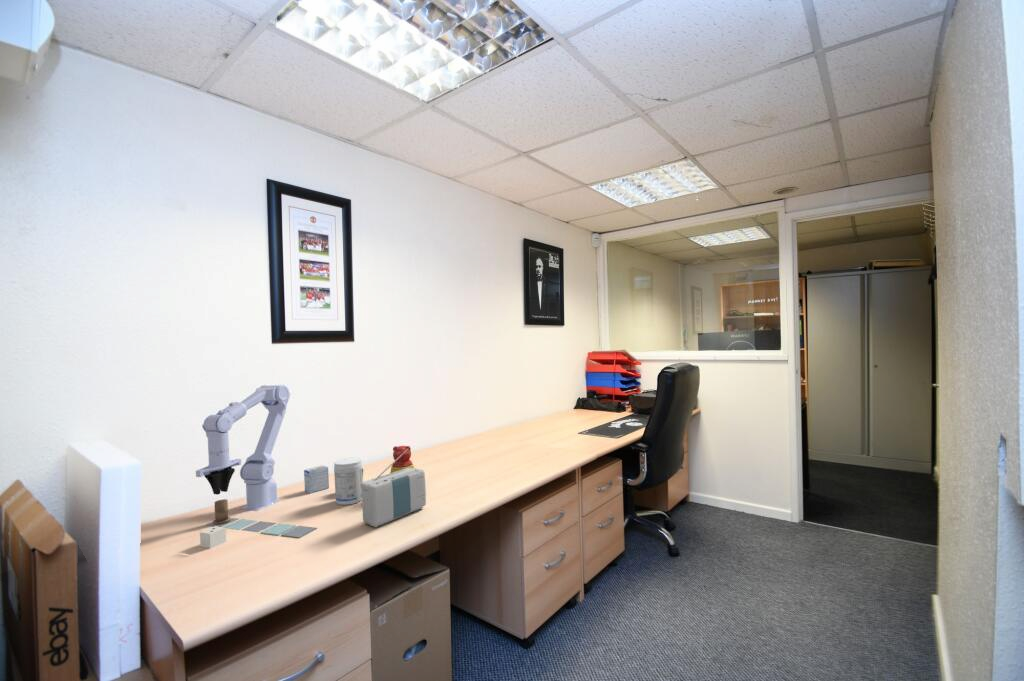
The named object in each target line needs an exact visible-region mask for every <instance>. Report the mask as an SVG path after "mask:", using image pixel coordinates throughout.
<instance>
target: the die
mask: <svg viewBox="0 0 1024 681" xmlns="http://www.w3.org/2000/svg"><path fill="white" fill-rule="evenodd" d="M223 527H224V526H222V527H218V526H214V527H213V526H211V527H209V528H206V529H204V530H202V531H200V532H199V539H200V540H199V541H200V542H199V543H200V547H202V548H206V549H210V550H211V549H213V548H215V547H217V546H220V545H223V544H224V543H226V542H227V534H226V533H227V531H226V529H227V528H223Z"/></svg>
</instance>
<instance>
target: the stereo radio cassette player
mask: <svg viewBox="0 0 1024 681" xmlns="http://www.w3.org/2000/svg"><path fill="white" fill-rule="evenodd" d="M407 450H408V449H407ZM407 450H406V451H407ZM406 451H405V452H406ZM405 452H404V453H405ZM404 453H403V454H404ZM403 454H402V455H403ZM402 455H400V456H399V457H398V458H397V459H396V460H394V461H392V463H390V464H389V465H388V467H386V468H385V469H384V470H382V472H381V473H380V474H378V476H376V477H375V478H371V479H368V480H365V481H363V482H361V489H362V500H361V503H362V504H361V505H362V506H361V507H362V521H363V522H364V523H365V524H366V525H369V526H372V527H374V528H378V527H379V526H382V525H385V524H387V523H389V522H392V521H394V520H396V519H399V518H402V517H404V516H406V515H409V514H411V513H414V512H416V511H418V510H422V509H423V508H424V507H425V506H426V504H427V488H426V487H427V486H426V475H425V471H424V469H419V468H415V467H414V468H406V469H403V470H399V471H396V472H393V473H390V472H389V473H387V474H385V473H386V471H387V470H388V469H389V468H391V467H392V465H393V464H394V463H395V462H396V461H397V460H398V459H399V458H400V457H401V456H402ZM383 474H385V475H383Z"/></svg>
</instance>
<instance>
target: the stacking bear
mask: <svg viewBox="0 0 1024 681" xmlns="http://www.w3.org/2000/svg"><path fill="white" fill-rule="evenodd" d="M407 449H408V450H407ZM411 449H412V448H411V446H410V445H407V446H406V445H399V446H393V447H392V450H393V453H392V456H393V460H394V461H395V460H396V459H397V458H398V457H399V456H400V455H402V454H403V453H404V452H405V451H406V450H407V451H406V452H405V453H404V454H403V455H402V456H401V457H400V458H399V459H398V460H397V461H396V462H395V463H394V464H393V465H392V466H390V472H389V474H390V473H393V472H396V471H399V470H403V469H406V468H415V465H414V463H413V461H412V460H410V459H411V456H412V451H411Z"/></svg>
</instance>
